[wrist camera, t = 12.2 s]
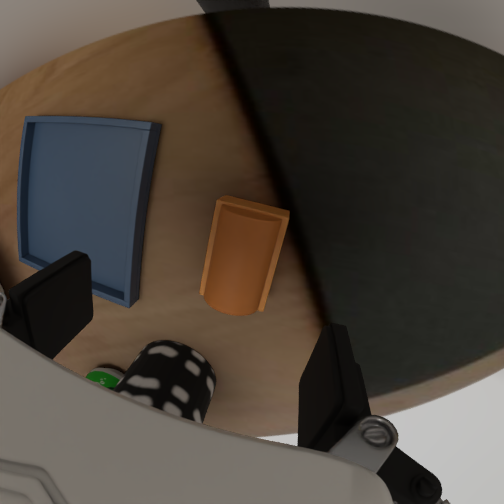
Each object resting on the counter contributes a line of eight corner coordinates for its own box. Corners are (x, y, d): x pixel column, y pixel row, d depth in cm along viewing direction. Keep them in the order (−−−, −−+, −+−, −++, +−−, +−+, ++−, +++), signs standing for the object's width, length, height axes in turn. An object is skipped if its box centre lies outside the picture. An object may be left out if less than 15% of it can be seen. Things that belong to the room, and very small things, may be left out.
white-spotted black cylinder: (186, 410, 29) (122, 561, 10) (127, 365, 28) (28, 506, 9) (233, 379, 26) (173, 575, 8) (165, 324, 26) (39, 509, 7)
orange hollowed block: (225, 194, 21) (208, 204, 17) (289, 210, 21) (289, 224, 17) (208, 280, 24) (190, 306, 19) (266, 296, 23) (260, 326, 19)
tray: (37, 116, 21) (24, 116, 19) (162, 124, 20) (151, 122, 18) (29, 255, 26) (19, 260, 24) (138, 299, 25) (129, 308, 23)
